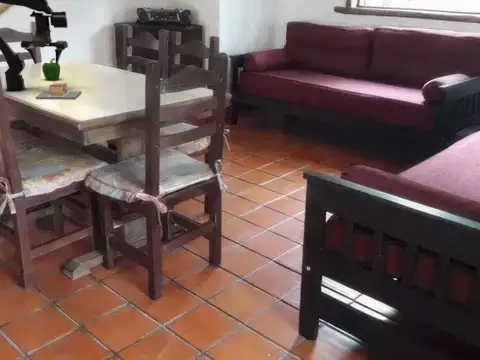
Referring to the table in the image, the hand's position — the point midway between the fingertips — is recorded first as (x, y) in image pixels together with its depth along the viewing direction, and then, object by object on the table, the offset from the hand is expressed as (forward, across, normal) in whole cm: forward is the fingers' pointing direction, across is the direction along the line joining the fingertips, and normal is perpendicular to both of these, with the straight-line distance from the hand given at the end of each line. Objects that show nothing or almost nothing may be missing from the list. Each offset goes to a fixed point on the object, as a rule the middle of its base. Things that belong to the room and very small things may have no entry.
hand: (46, 64), depth 240 cm
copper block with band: (+10, +9, -14) cm, 19 cm away
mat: (+11, +9, -14) cm, 20 cm away
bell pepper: (+11, -5, +21) cm, 25 cm away
